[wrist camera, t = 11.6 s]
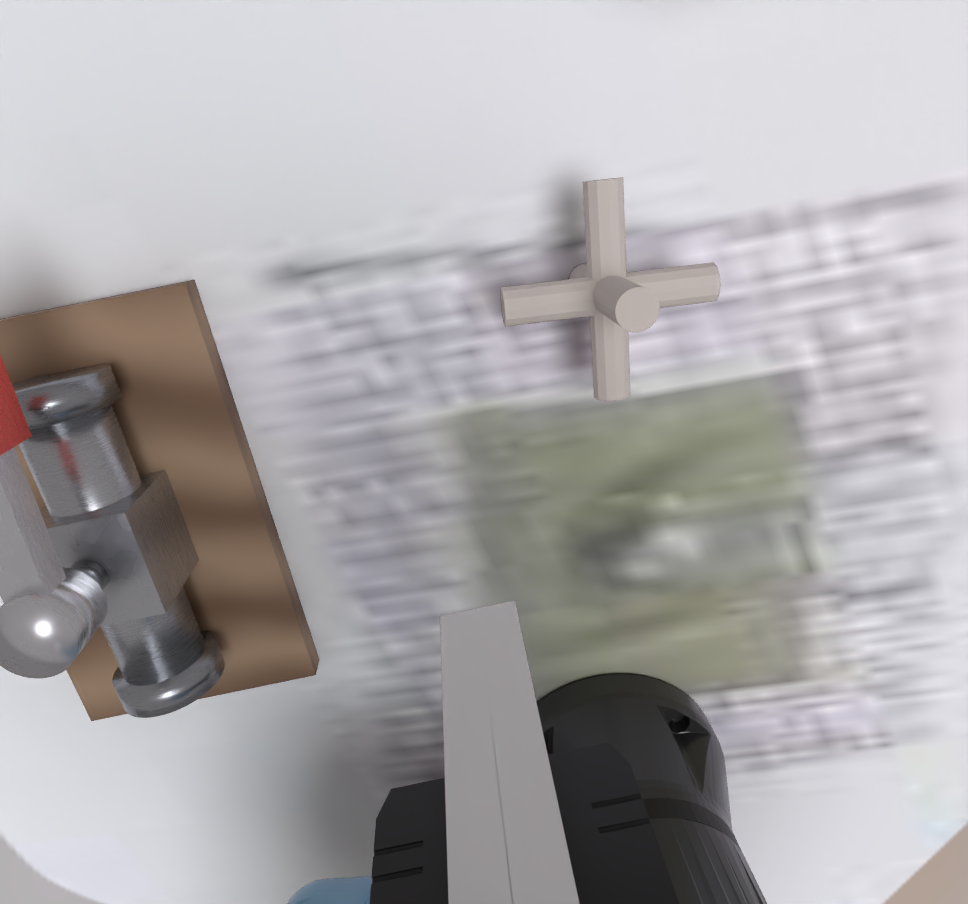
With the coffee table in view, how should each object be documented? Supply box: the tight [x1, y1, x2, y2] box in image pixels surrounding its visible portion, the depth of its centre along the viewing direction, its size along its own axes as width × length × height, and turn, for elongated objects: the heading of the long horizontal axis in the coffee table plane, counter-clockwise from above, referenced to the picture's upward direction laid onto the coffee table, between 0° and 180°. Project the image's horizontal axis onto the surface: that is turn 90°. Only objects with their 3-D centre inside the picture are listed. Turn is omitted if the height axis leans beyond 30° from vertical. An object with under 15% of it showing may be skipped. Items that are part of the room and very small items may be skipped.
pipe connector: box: [500, 178, 721, 401], centre depth 33 cm, size 10×10×10 cm
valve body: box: [12, 363, 225, 718], centre depth 36 cm, size 18×6×8 cm, turn 11°
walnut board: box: [0, 280, 319, 721], centre depth 40 cm, size 24×14×2 cm, turn 11°
